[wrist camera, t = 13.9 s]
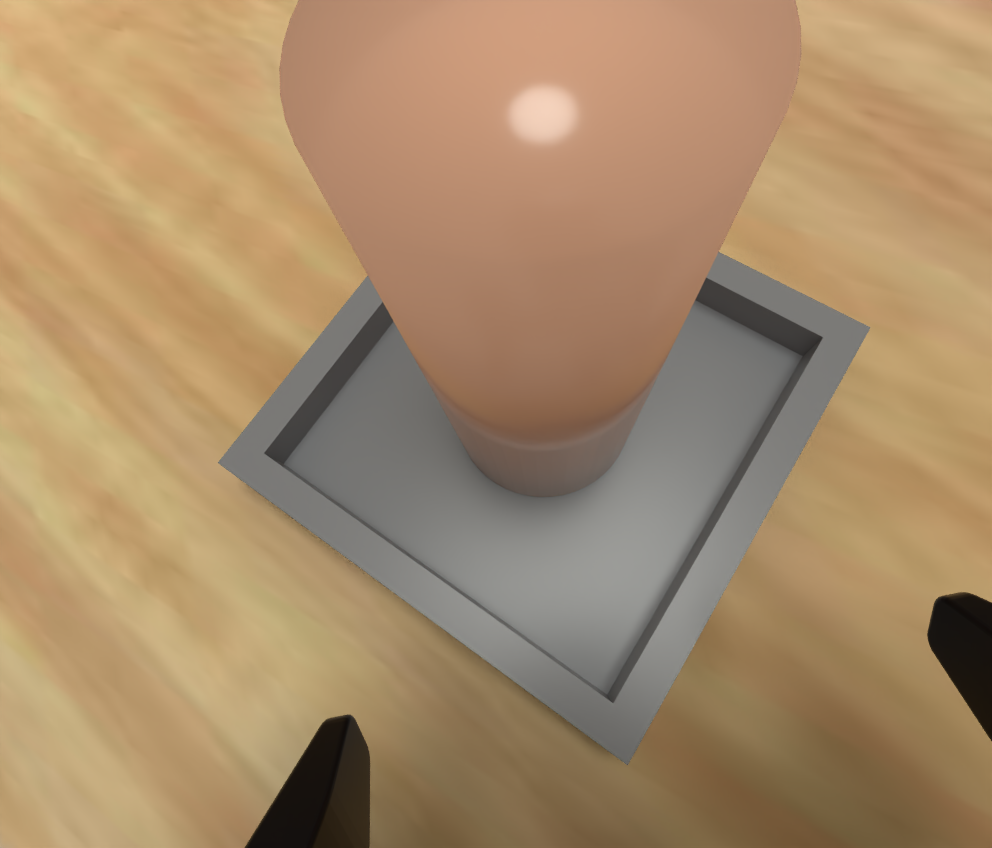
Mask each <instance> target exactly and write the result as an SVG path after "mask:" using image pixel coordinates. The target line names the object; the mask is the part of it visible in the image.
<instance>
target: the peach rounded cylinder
mask: <svg viewBox="0 0 992 848" xmlns="http://www.w3.org/2000/svg"><path fill="white" fill-rule="evenodd" d="M800 60H801V26H800V21H799V16H798V11H797V6H796V1H795V0H299V1H298V3H297V5H296V8H295V10H294V12H293V14H292V16H291V18H290V22H289V25H288V28H287V32H286V35H285V38H284V42H283V47H282V55H281V62H280V96H281V101H282V106H283V111H284V116H285V120H286V123H287V125H288V128H289V131H290V133H291V136H292V138H293V141H294V144H295V146H296V148H297V149H298V151H299V153H300V155H301V157H302V158H303V160H304V162H305V164H306V166H307V167H308V169H309V171H310V173H311V174H312V176H313V178H314V180H315V182H316V183H317V185H318V187H319V189H320V191H321V192H322V194H323V196H324V198H325V199H326V201H327V203H328V205H329V207H330V208H331V210H332V212H333V214H334V216H335V217H336V219H337V221H338V223H339V225H340V226H341V228H342V230H343V232H344V233H345V235H346V237H347V239H348V241H349V242H350V244H351V246H352V248H353V250H354V251H355V253H356V255H357V257H358V258H359V260H360V262H361V264H362V266H363V267H364V269H365V271H366V273H367V275H368V276H369V278H370V280H371V282H372V284H373V285H374V287H375V289H376V291H377V292H378V294H379V296H380V298H381V300H382V301H383V303H384V305H385V307H386V309H387V310H388V312H389V314H390V316H391V318H392V319H393V321H394V323H395V325H396V326H397V328H398V330H399V332H400V334H401V335H402V337H403V339H404V341H405V343H406V344H407V346H408V348H409V350H410V351H411V353H412V355H413V357H414V359H415V360H416V362H417V364H418V366H419V368H420V369H421V371H422V373H423V375H424V377H425V378H426V380H427V382H428V384H429V385H430V387H431V389H432V391H433V393H434V394H435V396H436V398H437V400H438V402H439V403H440V405H441V407H442V409H443V410H444V412H445V414H446V416H447V418H448V419H449V421H450V423H451V425H452V427H453V428H454V430H455V432H456V434H457V436H458V437H459V439H460V441H461V443H462V444H463V446H464V448H465V450H466V452H467V453H468V455H469V457H470V458H471V460H472V461H473V463H474V464H475V465H476V466H477V468H478V469H479V470H480V471H481V472H482V473H483V474H484V475H485V476H486V477H488V478H489V479H490V480H492V481H493V482H495V483H496V484H498V485H500V486H501V487H503V488H505V489H507V490H510V491H513V492H515V493H519V494H523V495H527V496H534V497H554V496H560V495H565V494H569V493H572V492H575V491H577V490H580V489H582V488H584V487H586V486H588V485H590V484H591V483H593V482H595V481H596V480H597V479H598V478H600V477H601V476H602V475H603V474H604V473H605V472H606V471H607V470H608V469H609V468H610V467H611V466H612V465H613V463H614V462H615V461H616V459H617V458H618V457H619V455H620V453H621V451H622V449H623V447H624V445H625V443H626V441H627V439H628V437H629V435H630V433H631V431H632V429H633V427H634V425H635V423H636V420H637V418H638V416H639V414H640V412H641V410H642V408H643V406H644V404H645V402H646V400H647V398H648V396H649V394H650V392H651V390H652V388H653V386H654V383H655V381H656V379H657V377H658V375H659V373H660V371H661V369H662V367H663V365H664V363H665V361H666V359H667V357H668V355H669V353H670V351H671V349H672V347H673V344H674V342H675V340H676V338H677V336H678V334H679V332H680V330H681V328H682V326H683V324H684V322H685V320H686V318H687V316H688V314H689V312H690V310H691V307H692V305H693V303H694V301H695V299H696V297H697V295H698V293H699V291H700V289H701V287H702V285H703V283H704V281H705V279H706V277H707V275H708V273H709V271H710V268H711V266H712V264H713V262H714V260H715V258H716V256H717V254H718V252H719V250H720V248H721V246H722V244H723V242H724V240H725V238H726V236H727V234H728V231H729V229H730V227H731V225H732V223H733V221H734V219H735V217H736V215H737V213H738V211H739V209H740V207H741V205H742V203H743V201H744V199H745V197H746V195H747V192H748V190H749V188H750V186H751V184H752V182H753V180H754V178H755V176H756V174H757V172H758V170H759V168H760V166H761V164H762V162H763V160H764V158H765V155H766V153H767V151H768V149H769V147H770V145H771V143H772V141H773V139H774V137H775V135H776V133H777V131H778V129H779V127H780V125H781V123H782V121H783V118H784V116H785V114H786V112H787V110H788V107H789V104H790V101H791V98H792V95H793V93H794V90H795V87H796V84H797V79H798V72H799V66H800Z"/></svg>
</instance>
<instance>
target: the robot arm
mask: <svg viewBox="0 0 992 848" xmlns="http://www.w3.org/2000/svg"><path fill="white" fill-rule="evenodd" d="M927 636H928V641H929V645H930V647H931V649H932V651H933V653H934V654H935V656H936V657H937V659H938V660H939V662H940V663H941V665H942V666H943V668H944V669H945V671H946V673H947V674H948V676H949V677H950V679H951V680H952V682H953V683H954V685H955V686H956V688H957V689H958V691H959V692H960V694H961V695H962V697H963V699H964V700H965V702H966V703H967V705H968V706H969V708H970V709H971V711H972V712H973V714H974V715H975V717H976V718H977V720H978V721H979V723H980V724H981V726H982V728H983V729H984V731H985V732H986V734H987V735H988V737H989V738H990V739H991V741H992V603H991V602H989V601H987V600H985V599H983V598H980V597H978V596H976V595H973V594H971V593H966V592H960V593H955V594H950V595H945V596H940V597H938V598H937V599H936V600H935V603H934V606H933V610H932V615H931V619H930V624H929V628H928V633H927ZM245 848H370V755H369V750H368V746H367V744H366V741H365V739H364V737H363V735H362V733H361V731H360V729H359V726H358V724H357V722H356V720H355V718H354V717H353V716H352V715H343V716H338V717H333V718H329V719H327V720H325V721H324V722H323V723H322V725H321V726H320V728H319V729H318V731H317V732H316V734H315V736H314V737H313V739H312V740H311V742H310V744H309V745H308V747H307V748H306V750H305V752H304V753H303V755H302V756H301V758H300V760H299V761H298V763H297V764H296V766H295V768H294V769H293V771H292V773H291V774H290V776H289V777H288V779H287V781H286V782H285V784H284V785H283V787H282V789H281V790H280V792H279V793H278V795H277V797H276V798H275V800H274V801H273V803H272V805H271V806H270V808H269V809H268V811H267V813H266V814H265V816H264V817H263V819H262V821H261V822H260V824H259V825H258V827H257V829H256V830H255V832H254V833H253V835H252V837H251V838H250V840H249V842H248V843H247V845H246V846H245Z"/></svg>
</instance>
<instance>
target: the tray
mask: <svg viewBox="0 0 992 848" xmlns="http://www.w3.org/2000/svg"><path fill="white" fill-rule="evenodd" d="M869 329H870V327H868V326H866V325H864V324H862V323H860V322H858V321H856V320H854V319H852V318H850V317H848V316H846V315H844V314H842V313H840V312H838V311H836V310H834V309H832V308H830V307H828V306H826V305H824V304H822V303H820V302H818V301H816V300H814V299H812V298H810V297H808V296H806V295H804V294H802V293H800V292H798V291H796V290H794V289H792V288H790V287H788V286H786V285H784V284H782V283H780V282H778V281H776V280H774V279H772V278H770V277H768V276H766V275H764V274H762V273H760V272H758V271H756V270H754V269H752V268H750V267H748V266H746V265H744V264H742V263H740V262H738V261H736V260H734V259H732V258H730V257H728V256H726V255H724V254H722V253H720V252H718V254H717V256H716V258H715V260H714V262H713V264H712V266H711V268H710V271H709V273H708V275H707V277H706V279H705V281H704V283H703V285H702V287H701V289H700V291H699V293H698V295H697V297H696V299H695V301H694V303H693V305H692V307H691V310H690V312H689V314H688V316H687V318H686V320H685V322H684V324H683V326H682V328H681V330H680V332H679V334H678V336H677V338H676V340H675V342H674V344H673V347H672V349H671V351H670V353H669V355H668V357H667V359H666V361H665V363H664V365H663V367H662V369H661V371H660V373H659V375H658V377H657V379H656V381H655V383H654V386H653V388H652V390H651V392H650V394H649V396H648V398H647V400H646V402H645V404H644V406H643V408H642V410H641V412H640V414H639V416H638V418H637V420H636V423H635V425H634V427H633V429H632V431H631V433H630V435H629V437H628V439H627V441H626V443H625V445H624V447H623V449H622V451H621V453H620V455H619V457H618V458H617V459H616V461H615V462H614V463H613V465H612V466H611V467H610V468H609V469H608V470H607V471H606V472H605V473H604V474H603V475H602V476H601V477H600V478H598V479H597V480H596V481H595V482H593V483H591V484H590V485H588V486H586V487H584V488H582V489H580V490H577V491H575V492H572V493H569V494H565V495H560V496H554V497H534V496H527V495H523V494H519V493H515V492H513V491H510V490H507V489H505V488H503V487H501V486H500V485H498V484H496V483H495V482H493V481H492V480H490V479H489V478H488V477H486V476H485V475H484V474H483V473H482V472H481V471H480V470H479V469H478V468H477V466H476V465H475V464H474V463H473V461H472V460H471V458H470V457H469V455H468V453H467V452H466V450H465V448H464V446H463V444H462V443H461V441H460V439H459V437H458V436H457V434H456V432H455V430H454V428H453V427H452V425H451V423H450V421H449V419H448V418H447V416H446V414H445V412H444V410H443V409H442V407H441V405H440V403H439V402H438V400H437V398H436V396H435V394H434V393H433V391H432V389H431V387H430V385H429V384H428V382H427V380H426V378H425V377H424V375H423V373H422V371H421V369H420V368H419V366H418V364H417V362H416V360H415V359H414V357H413V355H412V353H411V351H410V350H409V348H408V346H407V344H406V343H405V341H404V339H403V337H402V335H401V334H400V332H399V330H398V328H397V326H396V325H395V323H394V321H393V319H392V318H391V316H390V314H389V312H388V310H387V309H386V307H385V305H384V303H383V301H382V300H381V298H380V296H379V294H378V292H377V291H376V289H375V287H374V285H373V284H372V282H371V280H370V278H369V276H367V277H366V278H365V280H364V281H363V282H362V283H361V285H360V286H359V287H358V288H357V290H356V291H355V292H354V293H353V295H352V296H351V297H350V298H349V300H348V301H347V302H346V303H345V305H344V306H343V307H342V308H341V310H340V311H339V312H338V313H337V315H336V316H335V317H334V318H333V320H332V321H331V322H330V323H329V325H328V326H327V327H326V328H325V330H324V331H323V332H322V333H321V335H320V336H319V337H318V338H317V340H316V341H315V342H314V343H313V345H312V346H311V347H310V348H309V350H308V351H307V352H306V353H305V355H304V356H303V357H302V358H301V360H300V361H299V362H298V363H297V365H296V366H295V367H294V368H293V370H292V371H291V372H290V373H289V375H288V376H287V377H286V378H285V380H284V381H283V382H282V383H281V385H280V386H279V387H278V388H277V390H276V391H275V392H274V393H273V395H272V396H271V397H270V398H269V400H268V401H267V402H266V403H265V405H264V406H263V407H262V408H261V410H260V411H259V412H258V413H257V415H256V416H255V417H254V418H253V420H252V421H251V422H250V423H249V425H248V426H247V427H246V428H245V430H244V431H243V432H242V433H241V434H240V436H239V437H238V438H237V439H236V441H235V442H234V443H233V444H232V446H231V447H230V448H229V449H228V451H227V452H226V453H225V454H224V456H223V457H222V458H221V459H220V461H219V462H218V463H219V464H220V465H221V466H223V467H224V468H226V469H227V470H228V471H230V472H231V473H232V474H234V475H235V476H236V477H238V478H239V479H240V480H242V481H243V482H245V483H246V484H247V485H249V486H250V487H251V488H253V489H254V490H255V491H257V492H258V493H259V494H261V495H262V496H263V497H265V498H266V499H268V500H269V501H270V502H272V503H273V504H274V505H276V506H277V507H278V508H280V509H281V510H282V511H284V512H285V513H287V514H288V515H289V516H291V517H292V518H293V519H295V520H296V521H297V522H299V523H300V524H301V525H303V526H304V527H305V528H307V529H308V530H310V531H311V532H312V533H314V534H315V535H316V536H318V537H319V538H320V539H322V540H323V541H324V542H326V543H327V544H329V545H330V546H331V547H333V548H334V549H335V550H337V551H338V552H339V553H341V554H342V555H343V556H345V557H346V558H347V559H349V560H350V561H352V562H353V563H354V564H356V565H357V566H358V567H360V568H361V569H362V570H364V571H365V572H366V573H368V574H369V575H371V576H372V577H373V578H375V579H376V580H377V581H379V582H380V583H381V584H383V585H384V586H385V587H387V588H388V589H389V590H391V591H392V592H394V593H395V594H396V595H398V596H399V597H400V598H402V599H403V600H404V601H406V602H407V603H408V604H410V605H411V606H413V607H414V608H415V609H417V610H418V611H419V612H421V613H422V614H423V615H425V616H426V617H427V618H429V619H430V620H431V621H433V622H434V623H436V624H437V625H438V626H440V627H441V628H442V629H444V630H445V631H446V632H448V633H449V634H450V635H452V636H453V637H454V638H456V639H457V640H459V641H460V642H461V643H463V644H464V645H465V646H467V647H468V648H469V649H471V650H472V651H473V652H475V653H476V654H478V655H479V656H480V657H482V658H483V659H484V660H486V661H487V662H488V663H490V664H491V665H492V666H494V667H495V668H496V669H498V670H499V671H501V672H502V673H503V674H505V675H506V676H507V677H509V678H510V679H511V680H513V681H514V682H515V683H517V684H518V685H520V686H521V687H522V688H524V689H525V690H526V691H528V692H529V693H530V694H532V695H533V696H534V697H536V698H537V699H538V700H540V701H541V702H543V703H544V704H545V705H547V706H548V707H549V708H551V709H552V710H553V711H555V712H556V713H557V714H559V715H560V716H562V717H563V718H564V719H566V720H567V721H568V722H570V723H571V724H572V725H574V726H575V727H576V728H578V729H579V730H580V731H582V732H583V733H585V734H586V735H587V736H589V737H590V738H591V739H593V740H594V741H595V742H597V743H598V744H599V745H601V746H602V747H604V748H605V749H606V750H608V751H609V752H610V753H612V754H613V755H614V756H616V757H617V758H618V759H620V760H621V761H622V762H624V763H625V764H627V765H628V764H629V762H630V760H631V758H632V756H633V755H634V753H635V751H636V749H637V747H638V746H639V744H640V742H641V740H642V738H643V737H644V735H645V733H646V731H647V729H648V728H649V726H650V724H651V722H652V720H653V719H654V717H655V715H656V713H657V711H658V710H659V708H660V706H661V704H662V702H663V701H664V699H665V697H666V695H667V693H668V692H669V690H670V688H671V686H672V684H673V682H674V681H675V679H676V677H677V675H678V673H679V672H680V670H681V668H682V666H683V664H684V663H685V661H686V659H687V657H688V655H689V654H690V652H691V650H692V648H693V646H694V645H695V643H696V641H697V639H698V637H699V636H700V634H701V632H702V630H703V628H704V627H705V625H706V623H707V621H708V619H709V618H710V616H711V614H712V612H713V610H714V609H715V607H716V605H717V603H718V601H719V600H720V598H721V596H722V594H723V592H724V591H725V589H726V587H727V585H728V583H729V582H730V580H731V578H732V576H733V574H734V573H735V571H736V569H737V567H738V565H739V564H740V562H741V560H742V558H743V556H744V555H745V553H746V551H747V549H748V547H749V546H750V544H751V542H752V540H753V538H754V537H755V535H756V533H757V531H758V529H759V528H760V526H761V524H762V522H763V520H764V519H765V517H766V515H767V513H768V511H769V510H770V508H771V506H772V504H773V502H774V500H775V499H776V497H777V495H778V493H779V491H780V490H781V488H782V486H783V484H784V482H785V481H786V479H787V477H788V475H789V473H790V472H791V470H792V468H793V466H794V464H795V463H796V461H797V459H798V457H799V455H800V454H801V452H802V450H803V448H804V446H805V445H806V443H807V441H808V439H809V437H810V436H811V434H812V432H813V430H814V428H815V427H816V425H817V423H818V421H819V419H820V418H821V416H822V414H823V412H824V410H825V409H826V407H827V405H828V403H829V401H830V400H831V398H832V396H833V394H834V392H835V391H836V389H837V387H838V385H839V383H840V382H841V380H842V378H843V376H844V374H845V373H846V371H847V369H848V367H849V365H850V364H851V362H852V360H853V358H854V356H855V355H856V353H857V351H858V349H859V347H860V346H861V344H862V342H863V340H864V338H865V337H866V335H867V333H868V331H869Z"/></svg>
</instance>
